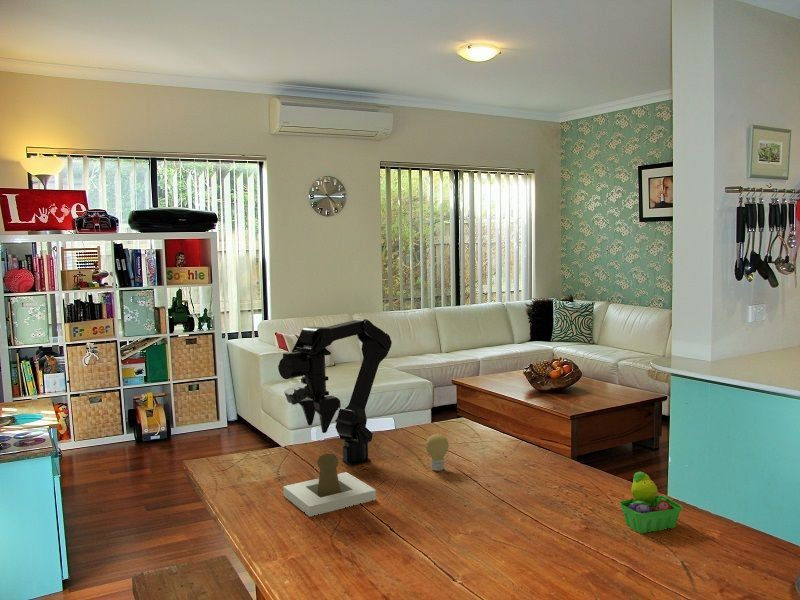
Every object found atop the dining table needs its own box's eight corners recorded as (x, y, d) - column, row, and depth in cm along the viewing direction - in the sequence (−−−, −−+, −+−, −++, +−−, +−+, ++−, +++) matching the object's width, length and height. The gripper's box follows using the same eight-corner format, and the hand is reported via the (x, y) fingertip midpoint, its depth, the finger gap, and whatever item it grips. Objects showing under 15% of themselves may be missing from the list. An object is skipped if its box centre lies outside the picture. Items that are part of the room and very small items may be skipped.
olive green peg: (312, 500, 169) (310, 457, 168) (326, 491, 174) (324, 450, 173) (332, 503, 166) (330, 460, 165) (345, 495, 171) (344, 453, 170)
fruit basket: (638, 537, 144) (638, 485, 143) (614, 520, 152) (614, 472, 151) (684, 530, 147) (684, 479, 146) (658, 514, 155) (658, 466, 154)
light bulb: (449, 465, 192) (448, 431, 191) (448, 473, 185) (448, 438, 184) (426, 465, 192) (426, 431, 191) (425, 473, 186) (424, 438, 185)
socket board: (346, 481, 182) (346, 472, 181) (376, 499, 168) (375, 489, 168) (283, 495, 172) (283, 486, 172) (309, 516, 159) (309, 506, 158)
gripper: (274, 371, 188) (276, 426, 190) (301, 382, 172) (304, 442, 174) (310, 366, 194) (313, 419, 195) (340, 377, 178) (342, 434, 180)
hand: (317, 428), depth 186 cm, fingers open, 9 cm apart
